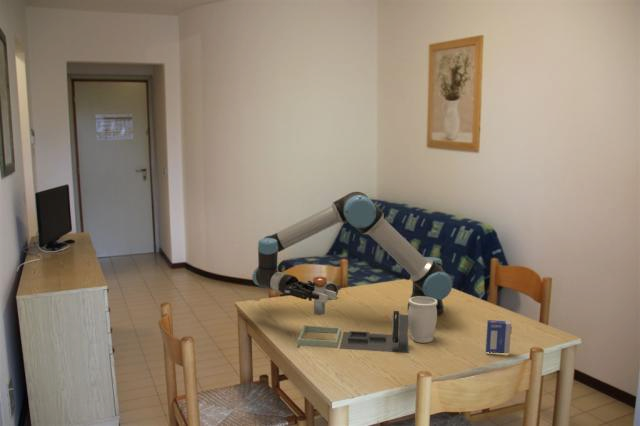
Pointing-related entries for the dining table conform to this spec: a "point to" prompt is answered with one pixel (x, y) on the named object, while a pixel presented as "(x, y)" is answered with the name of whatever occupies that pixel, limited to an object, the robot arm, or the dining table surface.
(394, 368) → the dining table surface
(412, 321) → the jar
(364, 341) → the pulley plate
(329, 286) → the ceramic mug
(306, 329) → the tray
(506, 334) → the walkman
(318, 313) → the copper-capped metal cylinder
